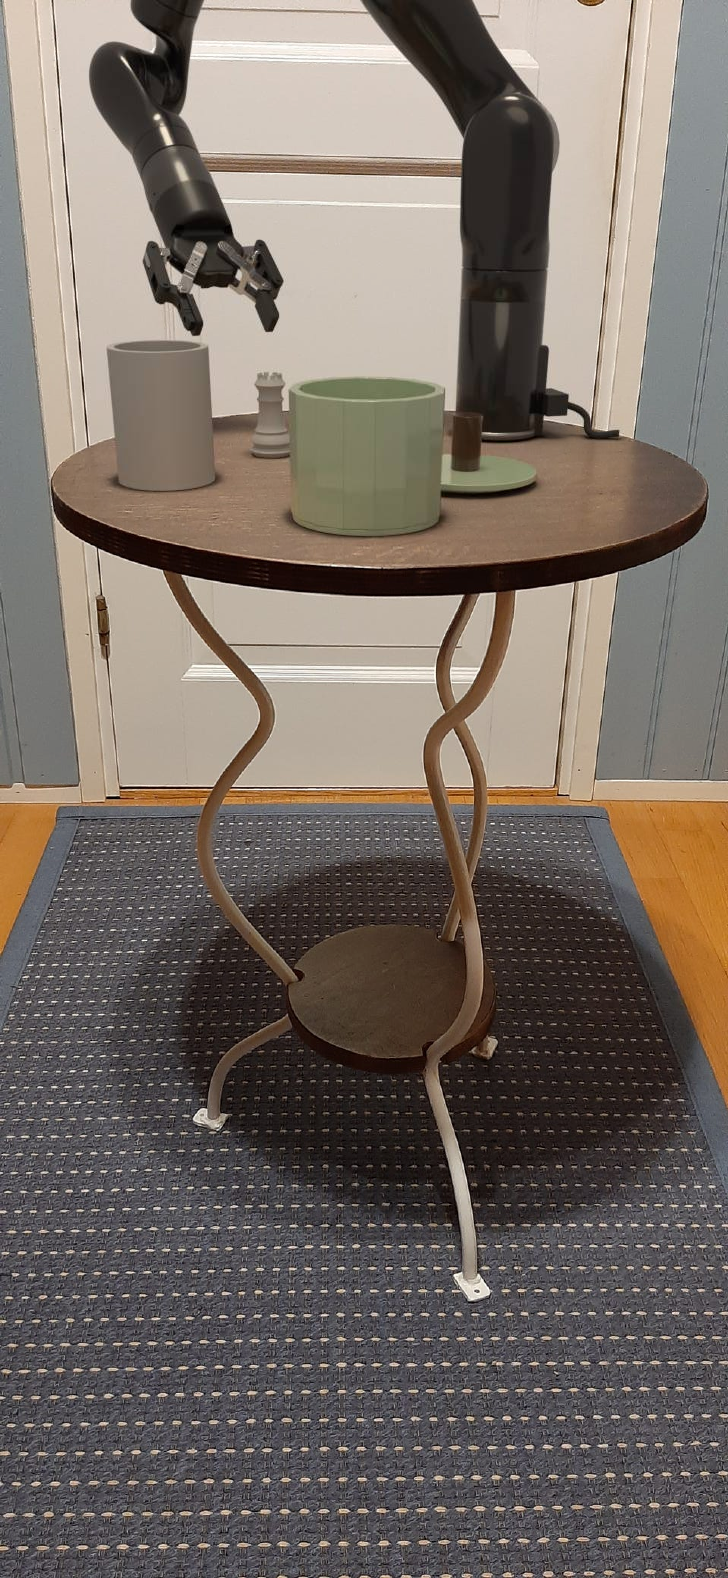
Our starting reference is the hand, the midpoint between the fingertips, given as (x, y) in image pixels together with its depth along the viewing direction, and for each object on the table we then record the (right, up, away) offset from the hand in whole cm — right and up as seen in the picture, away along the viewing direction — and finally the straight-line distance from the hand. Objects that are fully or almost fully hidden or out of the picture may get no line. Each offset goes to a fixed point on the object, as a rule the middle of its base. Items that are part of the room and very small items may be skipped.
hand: (236, 328), depth 121 cm
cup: (-5, -19, -11) cm, 23 cm away
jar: (+14, -25, -23) cm, 36 cm away
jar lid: (+23, -18, -11) cm, 32 cm away
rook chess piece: (+4, -13, 0) cm, 14 cm away
